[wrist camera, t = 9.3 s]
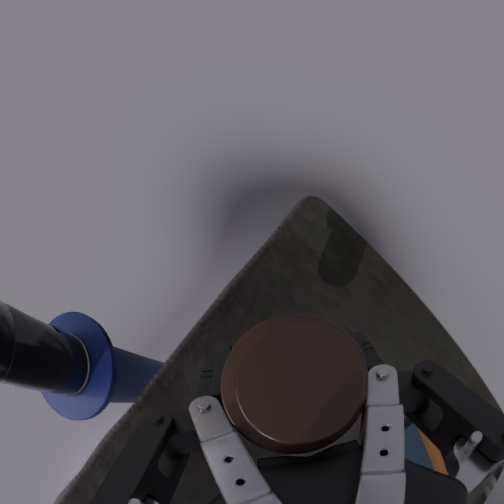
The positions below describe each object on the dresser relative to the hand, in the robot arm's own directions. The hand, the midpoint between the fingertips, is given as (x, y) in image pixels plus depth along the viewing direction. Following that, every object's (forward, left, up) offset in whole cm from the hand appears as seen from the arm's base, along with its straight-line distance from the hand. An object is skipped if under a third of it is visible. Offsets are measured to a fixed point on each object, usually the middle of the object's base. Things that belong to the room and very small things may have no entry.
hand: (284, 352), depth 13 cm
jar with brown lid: (0, -2, -5) cm, 6 cm away
